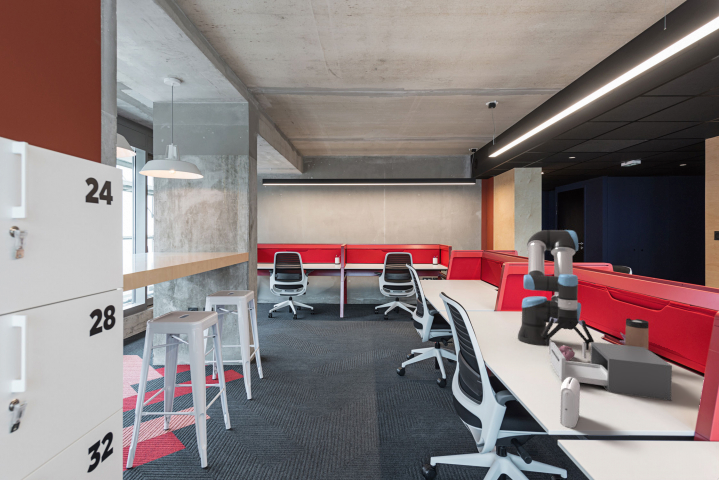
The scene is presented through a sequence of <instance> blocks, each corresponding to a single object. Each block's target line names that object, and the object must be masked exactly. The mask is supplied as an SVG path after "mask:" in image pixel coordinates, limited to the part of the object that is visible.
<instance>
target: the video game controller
mask: <svg viewBox="0 0 719 480" xmlns="http://www.w3.org/2000/svg"><path fill="white" fill-rule="evenodd" d="M558 349H559V350H560V352H561V353H562V354H563V356H564V357H565V358H566V359H565V361H571V360H572V359H573V358H574V357H575V353H576V352H575V351H574V349H573V348H572V347H570V346H568V345H564V344H563V345H561V346H560V347H558Z"/></svg>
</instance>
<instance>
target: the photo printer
mask: <svg viewBox="0 0 719 480" xmlns="http://www.w3.org/2000/svg"><path fill="white" fill-rule="evenodd" d="M580 384H581V383H580V382H578V380H577V379H575V378H571V377H568V378H566V379H565V380H564V382H562V383H561V387H560V406H559V407H560V408H559V413H560V414H559V421H560V424H561V425H562V426H564V427H565V428H570V429H573V428H575V427H576V426H577V423H578V420H579V416H580V398H581V397H580V396H581V392H580V391H581V386H580Z"/></svg>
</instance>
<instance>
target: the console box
mask: <svg viewBox="0 0 719 480" xmlns="http://www.w3.org/2000/svg"><path fill="white" fill-rule="evenodd" d="M590 364H598V365H602V366H603V367H604V368H605V369H606V370H607V371H608V375H607V386H604V385H602V387H604V389H605V390H606V391H607V392H608V393H614V394H619V395H620V394H621V395H628V396H636V397H641V398H650V399H656V400H664V401H672V385H673V382H672V380H673V364H672V365H671V364H670V363H669V362H667V361H666V360H664V359H662V358H661V357H660V356H658V355H656V353H654V352H652V351H651V350H649V348H648V349H646V348H645V347H637V346H627V345H625V344H615V343H605V342H604V343H603V342H595V341H594V342H591V343H590Z"/></svg>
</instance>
